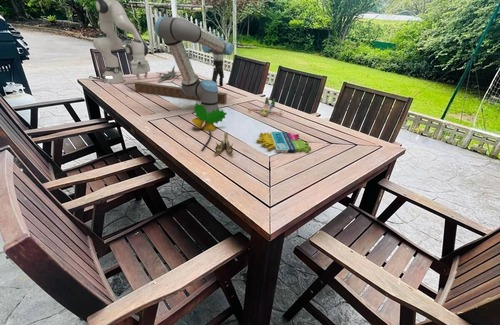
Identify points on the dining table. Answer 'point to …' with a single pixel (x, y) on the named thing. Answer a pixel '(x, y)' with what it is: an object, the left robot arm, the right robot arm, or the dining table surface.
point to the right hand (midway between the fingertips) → (218, 88)
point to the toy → (266, 108)
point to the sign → (283, 142)
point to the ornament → (207, 117)
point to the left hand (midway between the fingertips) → (142, 78)
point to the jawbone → (224, 145)
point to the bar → (171, 91)
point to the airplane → (168, 75)
